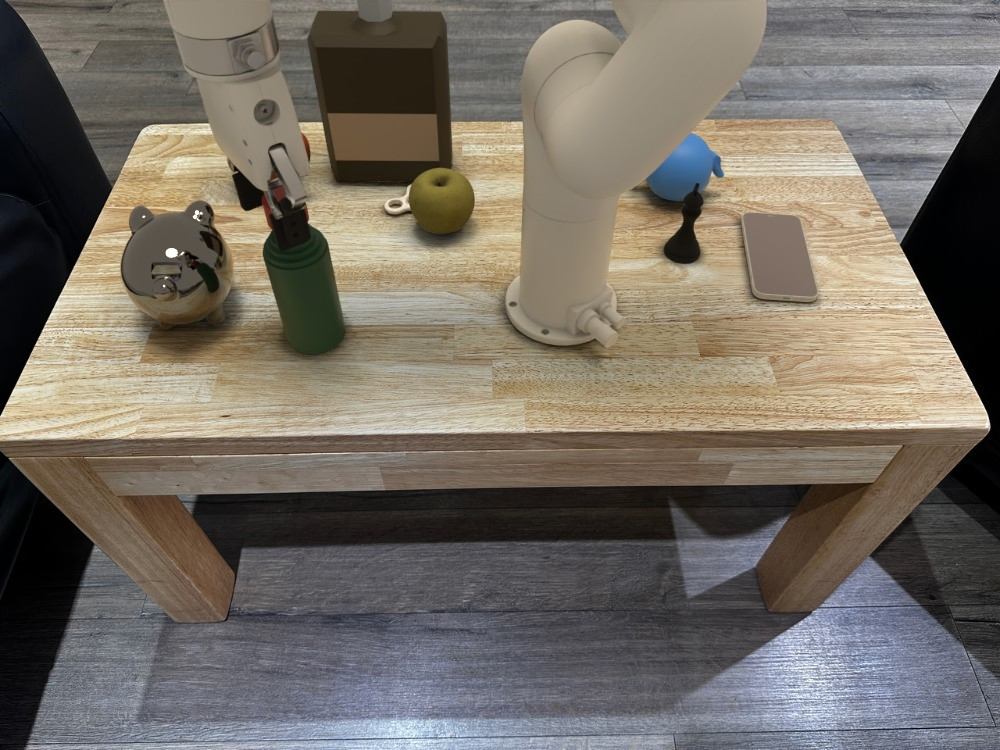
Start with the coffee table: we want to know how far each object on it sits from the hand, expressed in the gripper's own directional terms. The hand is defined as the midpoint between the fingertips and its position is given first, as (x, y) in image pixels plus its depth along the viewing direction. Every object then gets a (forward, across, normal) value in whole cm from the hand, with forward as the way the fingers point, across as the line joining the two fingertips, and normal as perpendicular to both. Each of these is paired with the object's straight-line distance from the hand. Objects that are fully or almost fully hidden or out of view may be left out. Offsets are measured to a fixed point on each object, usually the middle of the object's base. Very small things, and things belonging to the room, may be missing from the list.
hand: (275, 223), depth 74 cm
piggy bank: (+16, +12, +8) cm, 21 cm away
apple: (+15, +6, -23) cm, 28 cm away
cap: (-2, 0, -1) cm, 2 cm away
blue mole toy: (+16, -5, -52) cm, 55 cm away
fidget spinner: (+15, +12, -22) cm, 30 cm away
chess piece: (+16, -15, -43) cm, 48 cm away
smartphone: (+15, -23, -52) cm, 58 cm away
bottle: (+16, +21, -25) cm, 36 cm away
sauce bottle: (+15, 0, -1) cm, 16 cm away
